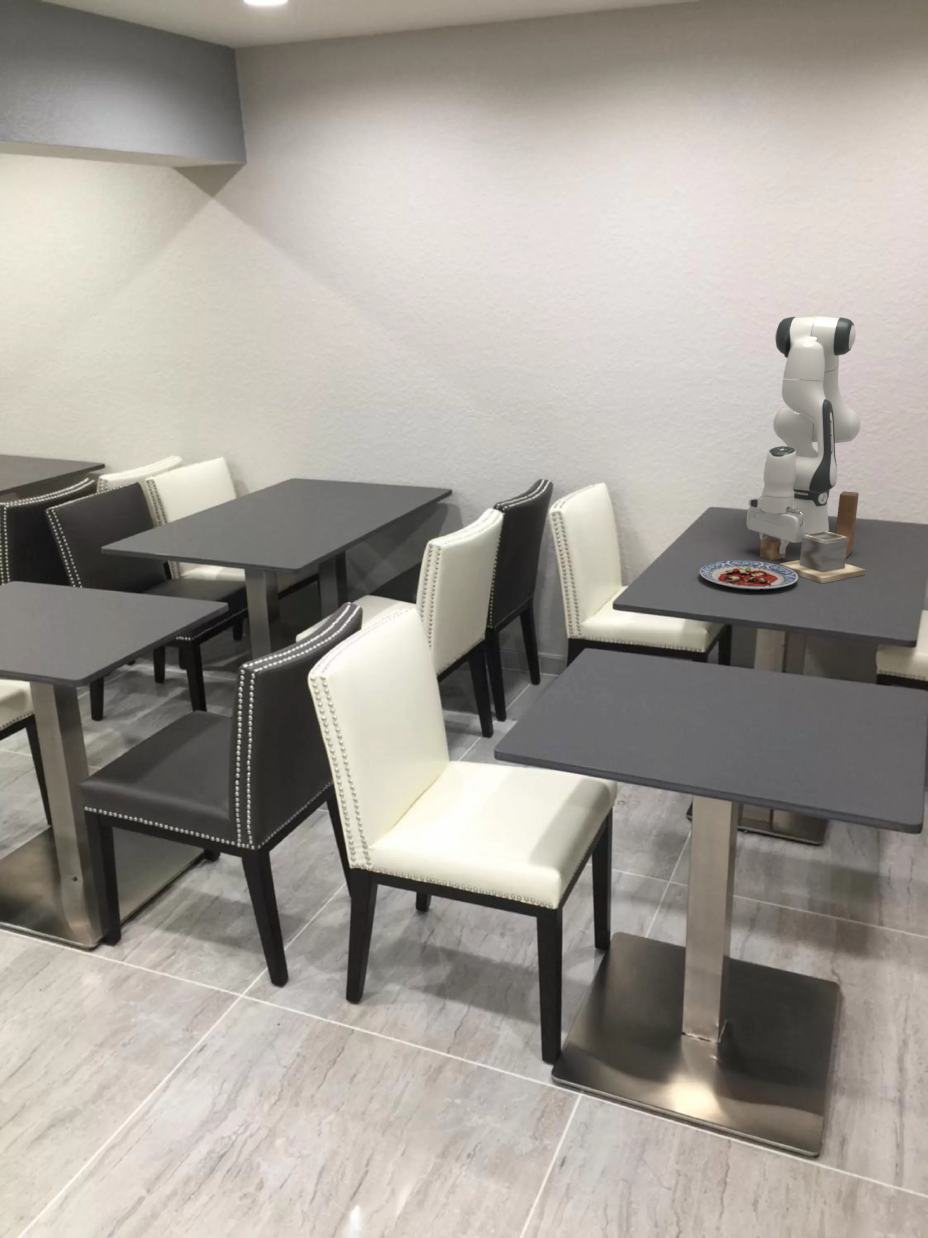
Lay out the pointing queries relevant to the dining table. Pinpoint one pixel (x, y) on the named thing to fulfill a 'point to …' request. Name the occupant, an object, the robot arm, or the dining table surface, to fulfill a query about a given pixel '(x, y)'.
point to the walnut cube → (771, 549)
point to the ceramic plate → (748, 574)
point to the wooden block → (847, 517)
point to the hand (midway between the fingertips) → (773, 550)
